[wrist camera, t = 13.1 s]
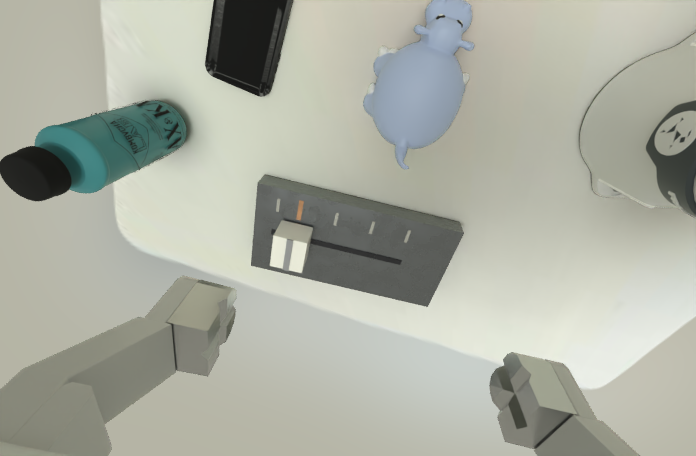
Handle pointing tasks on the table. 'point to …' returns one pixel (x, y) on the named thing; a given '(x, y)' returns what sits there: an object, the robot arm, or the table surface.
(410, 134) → the hippopotamus toy
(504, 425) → the robot arm
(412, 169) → the table surface
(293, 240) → the fader knob
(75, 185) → the beverage bottle
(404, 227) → the fader panel
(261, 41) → the phone
